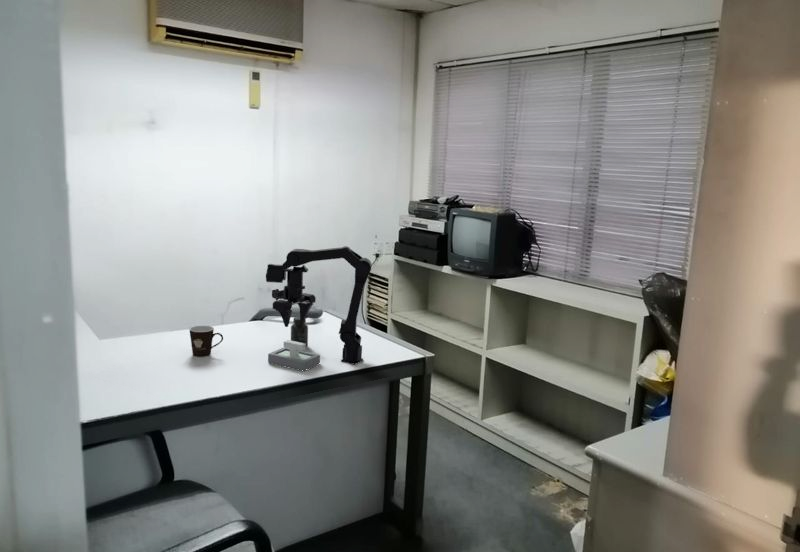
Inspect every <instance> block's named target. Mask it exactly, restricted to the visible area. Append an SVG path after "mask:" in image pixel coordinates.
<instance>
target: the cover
mask: <svg viewBox="0 0 800 552" xmlns="http://www.w3.org/2000/svg"><path fill="white" fill-rule="evenodd" d="M284 347H287V348H290V351H284V352H281V353H279V355H283V356H287V357H291V358H296V359H300V360H305V359H307V358H310V357H312V356H308V355H303V354H299V350H300V351H304V350H306V349H307V348H306V344H304V343H300V342H295V341H291V339H285V340H284V341H283V348H284Z"/></svg>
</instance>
